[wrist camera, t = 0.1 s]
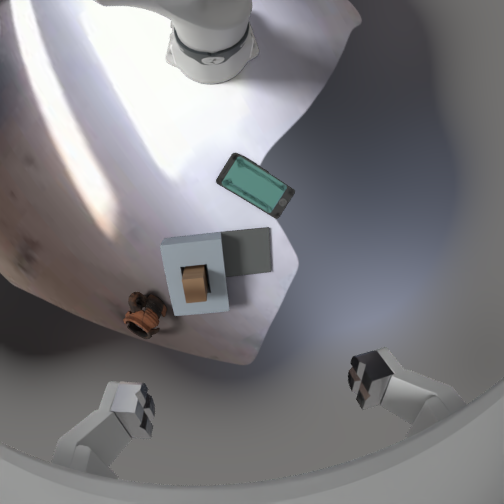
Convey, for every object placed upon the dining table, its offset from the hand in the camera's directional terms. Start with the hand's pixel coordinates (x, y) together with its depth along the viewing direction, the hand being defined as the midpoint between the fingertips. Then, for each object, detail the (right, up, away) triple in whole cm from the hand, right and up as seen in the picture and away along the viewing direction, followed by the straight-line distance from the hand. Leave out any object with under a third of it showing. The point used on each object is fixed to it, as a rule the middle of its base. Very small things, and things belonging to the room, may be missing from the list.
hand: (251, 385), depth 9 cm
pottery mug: (-25, -8, +51) cm, 57 cm away
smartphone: (+1, +19, +45) cm, 49 cm away
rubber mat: (-1, +5, +49) cm, 50 cm away
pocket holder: (-12, +1, +49) cm, 51 cm away
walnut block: (-12, +1, +49) cm, 50 cm away
